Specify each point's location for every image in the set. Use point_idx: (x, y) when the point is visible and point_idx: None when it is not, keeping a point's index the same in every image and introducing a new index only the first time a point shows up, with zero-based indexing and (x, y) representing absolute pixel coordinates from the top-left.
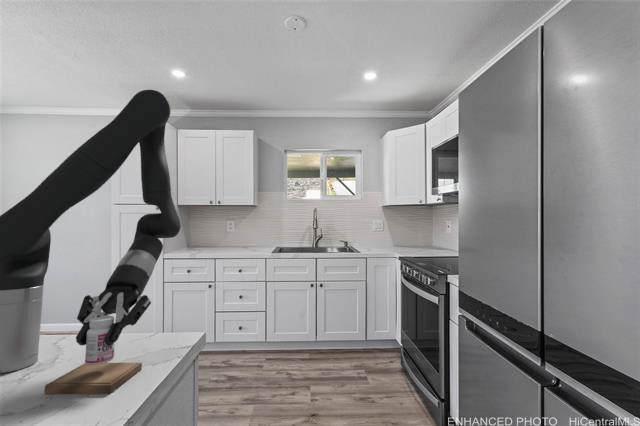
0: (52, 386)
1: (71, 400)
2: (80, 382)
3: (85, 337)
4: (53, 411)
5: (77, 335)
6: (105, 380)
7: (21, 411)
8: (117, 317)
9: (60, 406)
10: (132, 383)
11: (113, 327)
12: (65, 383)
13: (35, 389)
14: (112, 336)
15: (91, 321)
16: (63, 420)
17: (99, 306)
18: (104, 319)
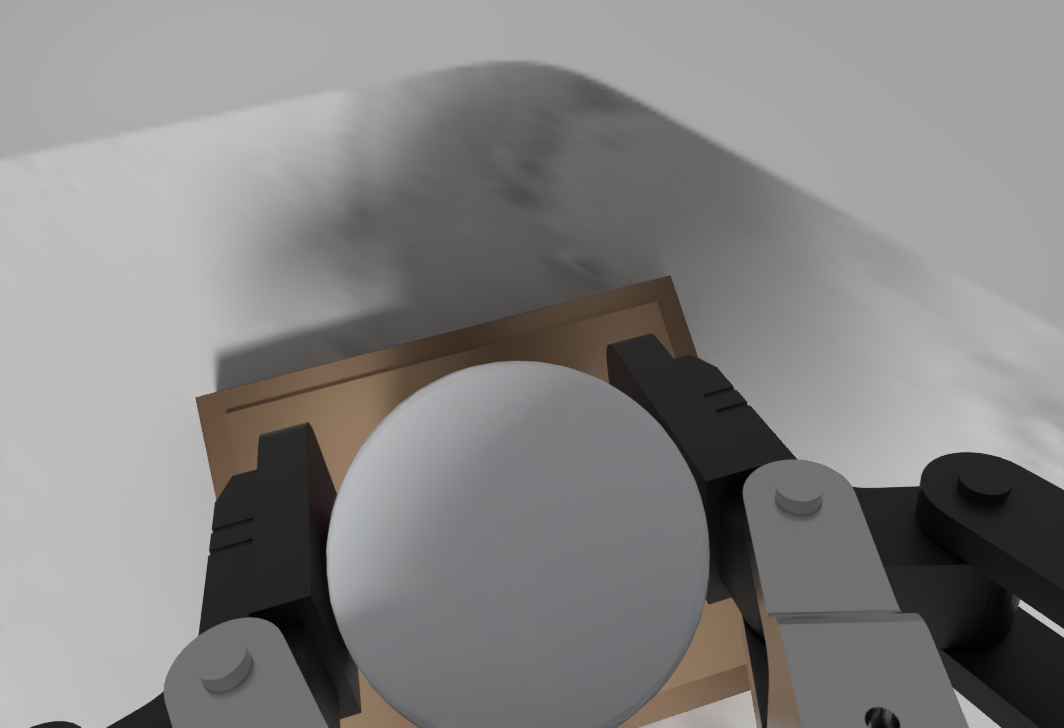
0: (618, 290)
1: (402, 277)
2: (457, 360)
3: None
4: (382, 163)
5: (714, 375)
6: None
7: (562, 124)
8: (271, 694)
9: (398, 211)
10: (182, 581)
11: (265, 553)
12: (558, 328)
13: (781, 323)
14: (243, 497)
15: (550, 365)
16: (232, 112)
17: (850, 722)
18: (393, 489)
